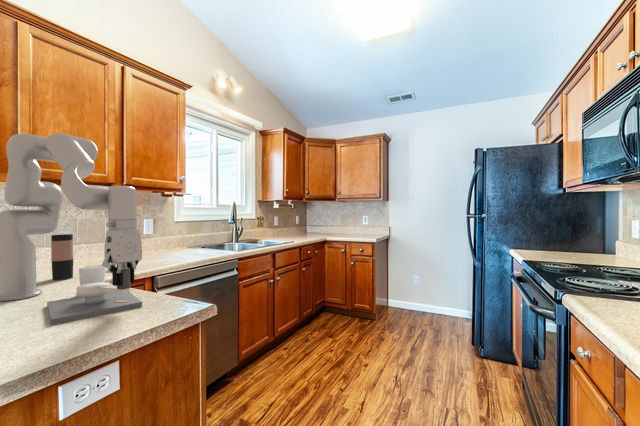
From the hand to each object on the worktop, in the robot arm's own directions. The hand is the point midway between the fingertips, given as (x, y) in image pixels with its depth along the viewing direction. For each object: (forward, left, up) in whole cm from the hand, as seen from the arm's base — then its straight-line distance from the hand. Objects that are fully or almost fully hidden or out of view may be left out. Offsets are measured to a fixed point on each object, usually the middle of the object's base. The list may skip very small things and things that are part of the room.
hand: (123, 283), depth 95 cm
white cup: (-30, -4, -8) cm, 32 cm away
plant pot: (-79, +17, -8) cm, 81 cm away
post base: (-10, -6, -8) cm, 15 cm away
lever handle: (-7, -4, -4) cm, 9 cm away
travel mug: (-70, -10, -8) cm, 72 cm away
